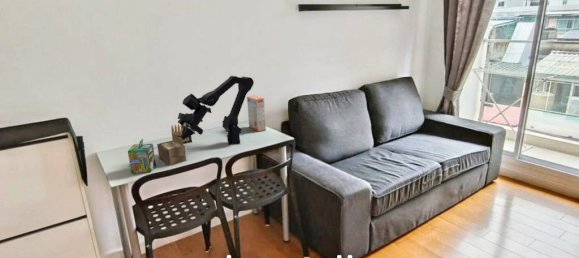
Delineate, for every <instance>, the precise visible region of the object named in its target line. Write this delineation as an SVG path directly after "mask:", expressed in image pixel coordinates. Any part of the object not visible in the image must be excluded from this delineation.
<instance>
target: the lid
mask: <svg viewBox="0 0 579 258" xmlns="http://www.w3.org/2000/svg"><path fill="white" fill-rule="evenodd" d="M173 139H174V141H172V140H171V141H172V142H168V141H167V142H168V143H164V142H163V143H164V144H161V146H163V147H165V148H166V149H171V148H175V147H179V146H183V145H184V144H183V139H182V138H181V137H179V136H177V135H173Z"/></svg>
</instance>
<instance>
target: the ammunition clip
mask: <svg viewBox="0 0 579 258" xmlns="http://www.w3.org/2000/svg"><path fill="white" fill-rule="evenodd" d="M170 127H171V141H172V140H174V139H173V135H177V136H179V137H181V134H182V131H183V128H182V126H181V125H180V124H179V123H178V124H177V125H176V124H174V125H173V124H172V125H171V126H170ZM191 143H193V138H192V135H191V136H189V137H188V138H186V139H184V140H183V145H185V144H191Z"/></svg>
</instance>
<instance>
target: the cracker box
mask: <svg viewBox="0 0 579 258" xmlns="http://www.w3.org/2000/svg"><path fill="white" fill-rule="evenodd" d="M246 99H247V100H246V102H247V115H248V127H249V128H250V129H253V130H254V131H256V132H258V133H259V132H265V131H266V129H267V127H266V109H265V98H264V97H261V96H258V95H255V94H254V95H246Z"/></svg>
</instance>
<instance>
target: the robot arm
mask: <svg viewBox="0 0 579 258" xmlns="http://www.w3.org/2000/svg"><path fill="white" fill-rule="evenodd" d="M236 84H238V85H237V87H238V91H237V94H236V96H235V99H234V102H233V104H232V107H231V109H230V112H229V114H228V115H224V117H223V120H222V122H221V123H222V128H223V129H224V130H225V132H227V134H226V138H227V139H226V140H227V143H228V145H238V144H239V145H240V144H241V137H240V134H241V133H242V128H241V127H239V118H238V117H239V115H240V112H241V109H242V107H243V104H244V102H245V99H246V98H247V94H248V93H249V92H250V91H251V90H252V88H253V86H254V84H255V82H254V80H253V78H252V77H250V76H249V77H248V76H236V75H230V76H229V77H228V78H227V79H226V80H224V81H223V82H222V83H221V84H220V85H218V86H217V87H216V88H215V89H213V90H210V91H208V92H206V93H205V94H203V95H202V96H201V97H196V96H195V95H194V94H193V93H189V94H188V95H187V96H186V97H184V99H183V100H182V105H184V106H185V107H187V108H188V109H189V110H191V111H193V112H192V113H188V112H186V113H183V112H178V116H177V119H178V121H177V123H178V124H179V125H180V127H181V126H182V128H183V131H182V134H181V138H182V139H183V140H184V139H186V138H188V137H189V136H191V137H192V135H193V136H194V135H195V134H196V133H197V134H198V135H200V136H202V135H203V132H204V129H203V128H201V127H200V126H199V125H200V123H203V122H204V120H203V119H204V117H206V114H207V113H209V114H212V108H211V107H214V106H215V105H216V104H217V102H218V101H219V100H220V97H222V96H223V95H224V94H225V93H226V92H227V91H228V90H230V89H231V88H232V87H234V86H235V85H236Z"/></svg>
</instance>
